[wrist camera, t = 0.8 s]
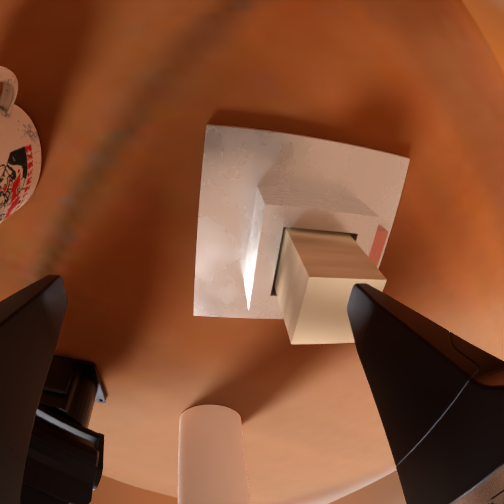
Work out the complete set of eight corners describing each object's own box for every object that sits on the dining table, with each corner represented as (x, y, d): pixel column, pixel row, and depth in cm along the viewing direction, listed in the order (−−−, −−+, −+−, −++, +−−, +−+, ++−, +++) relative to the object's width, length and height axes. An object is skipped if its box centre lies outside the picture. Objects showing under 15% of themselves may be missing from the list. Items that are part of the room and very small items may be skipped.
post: (321, 267, 23) (361, 342, 16) (266, 264, 22) (289, 344, 15) (334, 215, 21) (387, 278, 14) (276, 209, 21) (308, 275, 14)
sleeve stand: (355, 311, 27) (375, 346, 23) (194, 307, 25) (191, 347, 21) (402, 155, 21) (438, 172, 17) (206, 123, 19) (204, 131, 15)
